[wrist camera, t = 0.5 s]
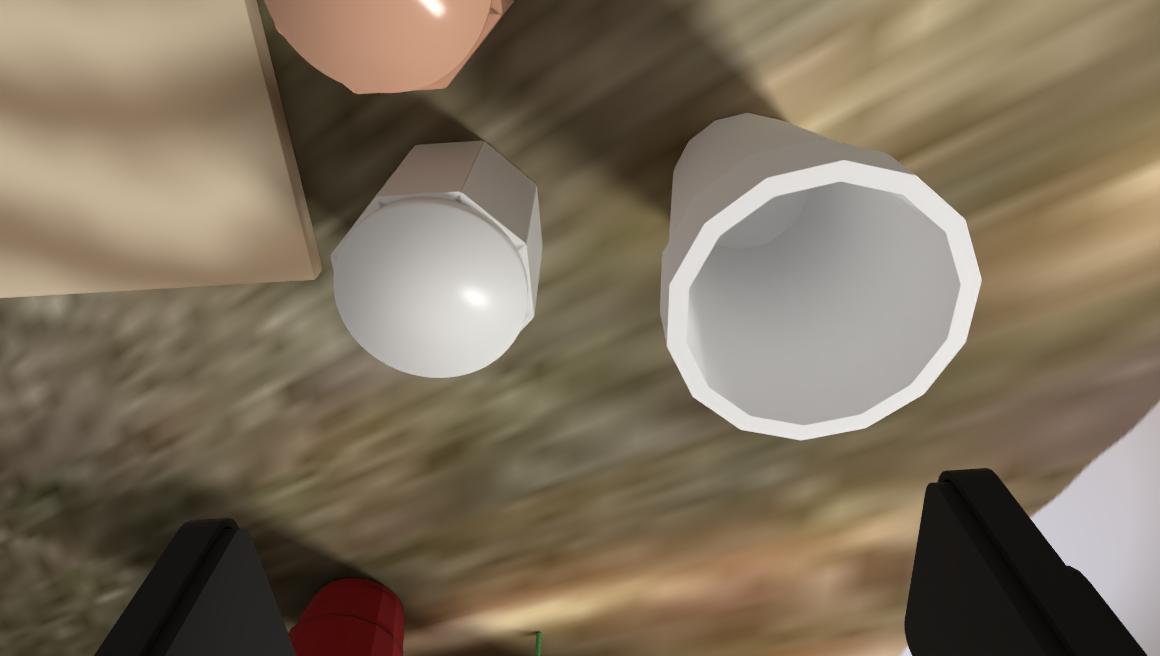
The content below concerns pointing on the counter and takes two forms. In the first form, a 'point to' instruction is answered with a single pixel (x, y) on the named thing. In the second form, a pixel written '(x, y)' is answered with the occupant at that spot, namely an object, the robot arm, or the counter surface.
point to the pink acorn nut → (387, 39)
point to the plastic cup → (350, 621)
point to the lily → (538, 644)
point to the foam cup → (809, 279)
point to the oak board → (144, 150)
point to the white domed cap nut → (442, 261)
